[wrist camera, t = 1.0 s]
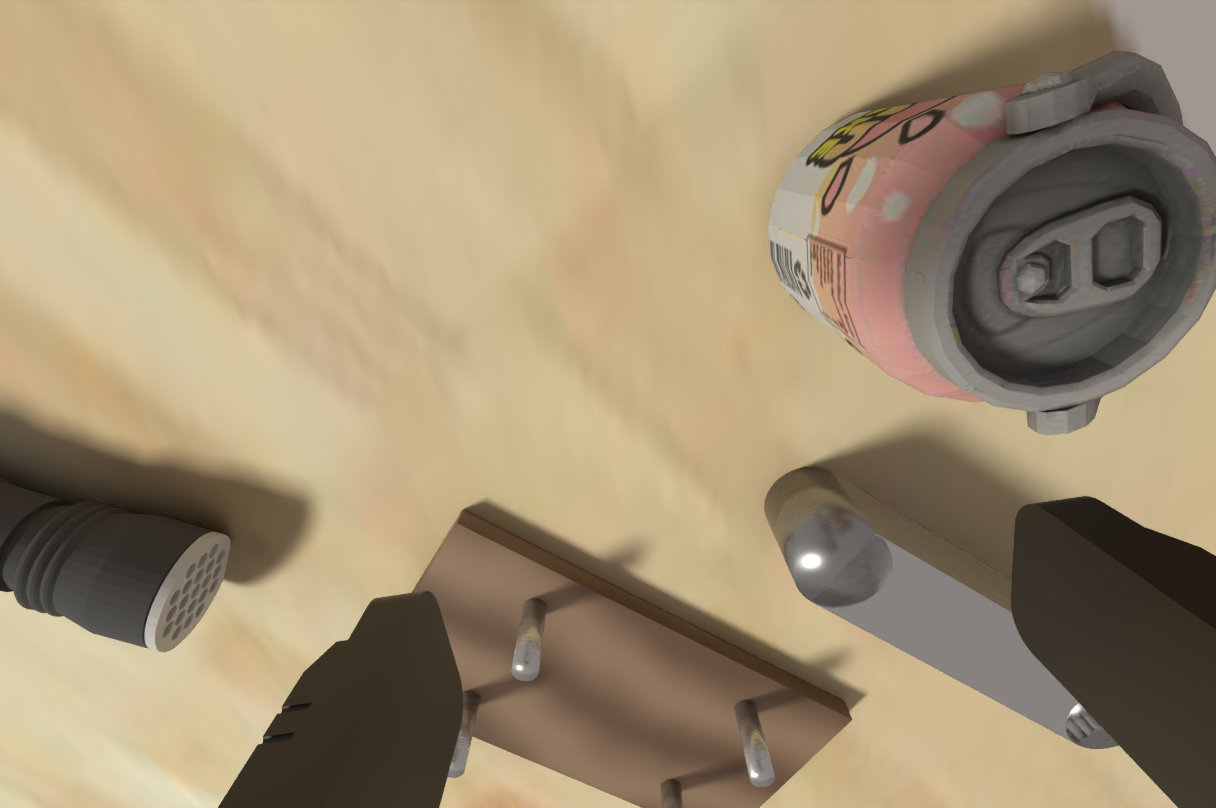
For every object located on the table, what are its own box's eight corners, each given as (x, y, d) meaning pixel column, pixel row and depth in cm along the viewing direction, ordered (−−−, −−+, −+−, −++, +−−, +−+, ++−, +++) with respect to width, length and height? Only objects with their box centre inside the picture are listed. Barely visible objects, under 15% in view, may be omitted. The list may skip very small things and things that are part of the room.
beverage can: (986, 61, 22) (1364, -32, 11) (1003, 280, 25) (1314, 377, 14) (740, 147, 23) (862, 139, 12) (785, 346, 26) (915, 485, 15)
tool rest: (462, 509, 29) (434, 578, 25) (844, 701, 34) (883, 790, 29) (364, 669, 33) (323, 756, 28) (720, 821, 38) (736, 917, 33)
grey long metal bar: (799, 452, 28) (836, 510, 24) (1093, 628, 32) (1174, 707, 28) (747, 515, 30) (774, 581, 25) (1037, 676, 34) (1105, 760, 29)
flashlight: (-99, 505, 30) (-243, 576, 25) (-105, 409, 28) (-263, 465, 23) (223, 595, 32) (150, 678, 27) (237, 512, 30) (162, 585, 25)
